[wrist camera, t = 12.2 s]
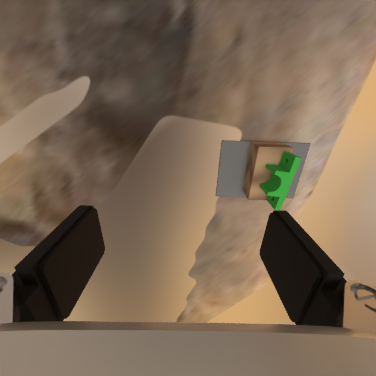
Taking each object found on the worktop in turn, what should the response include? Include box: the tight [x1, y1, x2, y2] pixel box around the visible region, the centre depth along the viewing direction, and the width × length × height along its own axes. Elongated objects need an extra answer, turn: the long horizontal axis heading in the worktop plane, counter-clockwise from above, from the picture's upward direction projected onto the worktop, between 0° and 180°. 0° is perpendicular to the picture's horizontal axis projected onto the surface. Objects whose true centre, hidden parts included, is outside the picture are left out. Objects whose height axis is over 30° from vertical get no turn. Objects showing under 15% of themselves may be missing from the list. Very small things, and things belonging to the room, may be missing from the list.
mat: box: [216, 140, 310, 198], centre depth 44 cm, size 14×20×1 cm
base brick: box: [242, 142, 294, 200], centre depth 41 cm, size 12×7×5 cm, turn 178°
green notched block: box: [259, 151, 301, 210], centre depth 37 cm, size 11×4×5 cm, turn 173°
